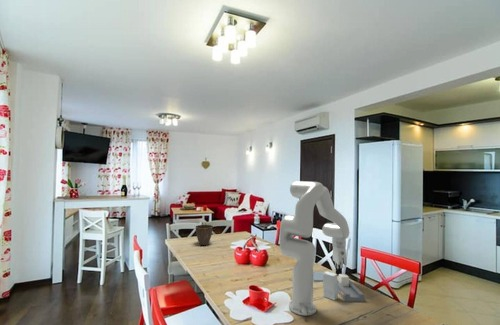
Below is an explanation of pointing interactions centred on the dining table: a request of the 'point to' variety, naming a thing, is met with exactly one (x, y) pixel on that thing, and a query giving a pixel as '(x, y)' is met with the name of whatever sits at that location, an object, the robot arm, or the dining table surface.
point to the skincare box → (330, 285)
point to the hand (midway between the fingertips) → (338, 275)
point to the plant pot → (204, 234)
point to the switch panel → (350, 292)
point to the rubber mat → (318, 276)
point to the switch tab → (344, 279)
